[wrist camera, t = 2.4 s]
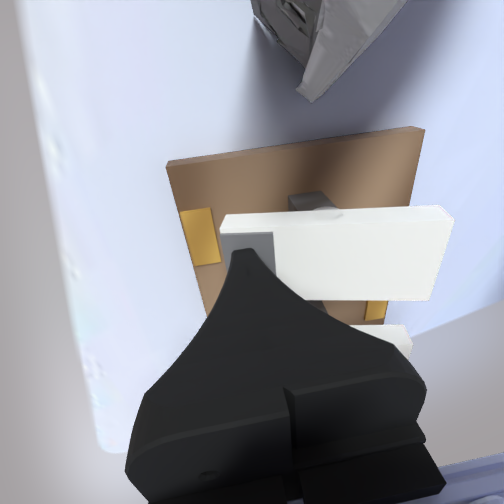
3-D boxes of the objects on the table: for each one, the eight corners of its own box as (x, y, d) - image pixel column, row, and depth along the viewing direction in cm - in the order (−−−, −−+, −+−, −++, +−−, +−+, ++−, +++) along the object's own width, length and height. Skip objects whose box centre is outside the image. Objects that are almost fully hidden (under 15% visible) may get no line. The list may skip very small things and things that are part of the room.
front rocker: (435, 201, 10) (457, 222, 9) (415, 277, 12) (430, 303, 11) (227, 211, 12) (218, 230, 10) (238, 278, 14) (232, 302, 12)
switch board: (411, 126, 13) (459, 137, 11) (374, 320, 20) (398, 355, 18) (168, 161, 13) (158, 182, 10) (218, 348, 20) (220, 388, 17)
